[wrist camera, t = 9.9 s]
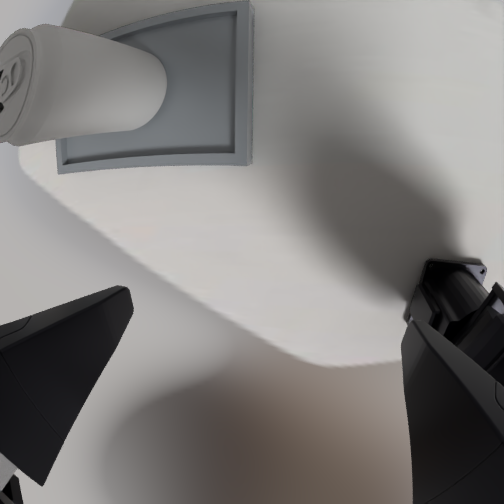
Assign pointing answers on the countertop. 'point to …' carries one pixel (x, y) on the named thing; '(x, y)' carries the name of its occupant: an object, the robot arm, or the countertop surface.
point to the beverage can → (74, 85)
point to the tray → (183, 95)
